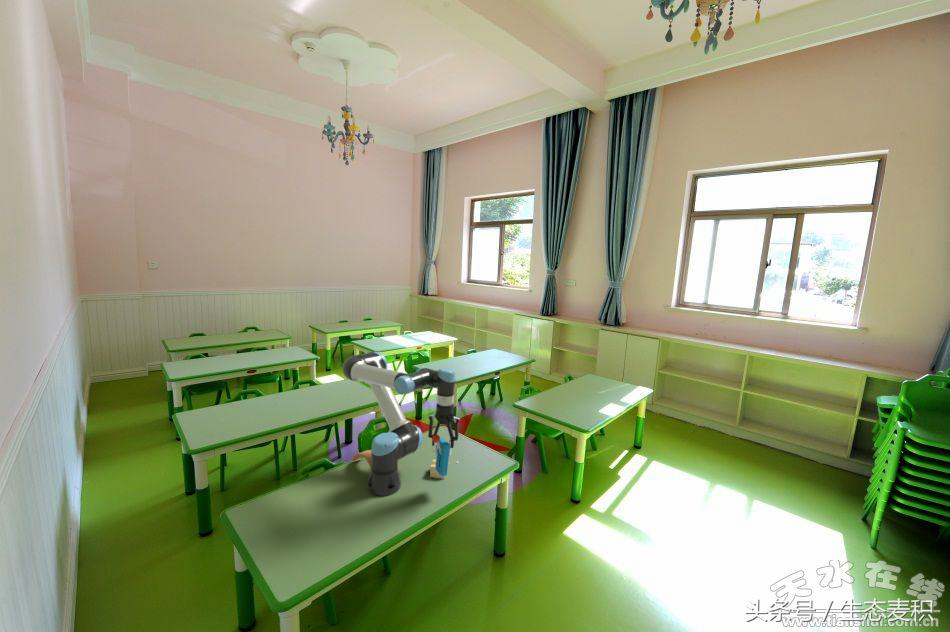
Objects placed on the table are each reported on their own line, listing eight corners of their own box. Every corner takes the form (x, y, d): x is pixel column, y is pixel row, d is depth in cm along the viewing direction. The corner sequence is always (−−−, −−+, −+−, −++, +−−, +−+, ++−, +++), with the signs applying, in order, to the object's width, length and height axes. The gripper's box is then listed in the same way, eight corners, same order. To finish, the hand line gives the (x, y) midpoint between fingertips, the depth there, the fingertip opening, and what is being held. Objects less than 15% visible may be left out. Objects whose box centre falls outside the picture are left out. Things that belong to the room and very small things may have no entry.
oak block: (433, 472, 192) (433, 459, 191) (447, 474, 191) (447, 460, 190) (429, 480, 185) (430, 466, 184) (444, 481, 184) (444, 468, 183)
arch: (373, 483, 180) (373, 462, 179) (351, 466, 194) (352, 447, 193) (383, 478, 184) (384, 458, 183) (362, 462, 198) (362, 444, 197)
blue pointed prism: (425, 470, 173) (429, 432, 171) (440, 468, 176) (444, 430, 175) (432, 478, 167) (436, 438, 165) (446, 475, 171) (450, 436, 169)
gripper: (421, 404, 167) (419, 454, 170) (465, 408, 165) (461, 460, 168) (426, 398, 175) (424, 447, 177) (467, 402, 172) (464, 452, 175)
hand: (442, 453), depth 173 cm, fingers closed on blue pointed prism, 6 cm apart
